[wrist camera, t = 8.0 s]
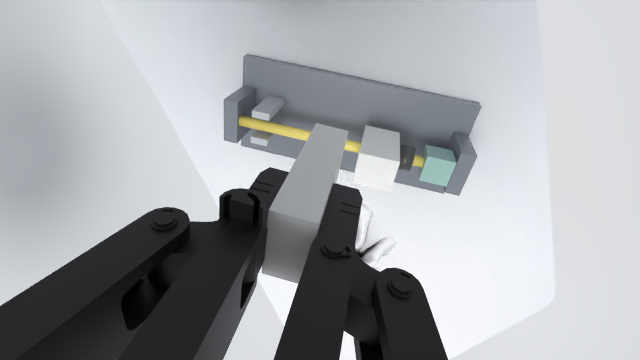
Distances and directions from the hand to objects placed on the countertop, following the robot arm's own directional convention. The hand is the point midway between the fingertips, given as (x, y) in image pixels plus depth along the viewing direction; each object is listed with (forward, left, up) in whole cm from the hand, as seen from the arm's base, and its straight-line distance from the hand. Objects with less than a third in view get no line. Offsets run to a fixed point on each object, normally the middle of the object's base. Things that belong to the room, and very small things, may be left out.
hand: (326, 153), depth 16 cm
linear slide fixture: (+9, 0, -27) cm, 28 cm away
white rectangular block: (+9, +4, -23) cm, 25 cm away
